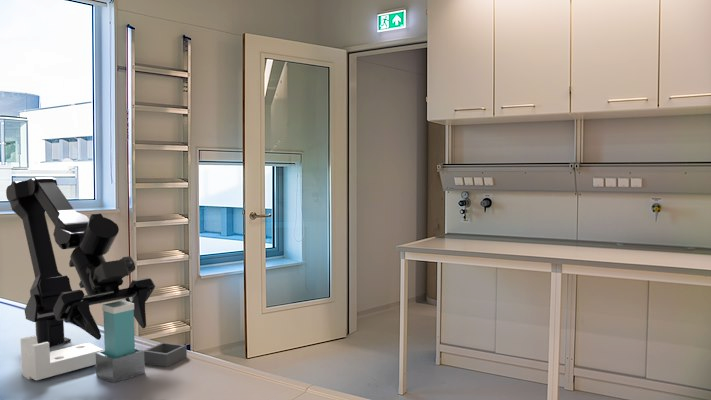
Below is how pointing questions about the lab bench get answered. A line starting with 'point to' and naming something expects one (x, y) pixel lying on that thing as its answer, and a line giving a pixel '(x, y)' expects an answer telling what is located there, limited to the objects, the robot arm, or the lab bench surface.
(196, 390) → the lab bench surface
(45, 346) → the bracket
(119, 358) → the box
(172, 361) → the frame
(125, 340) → the plug
